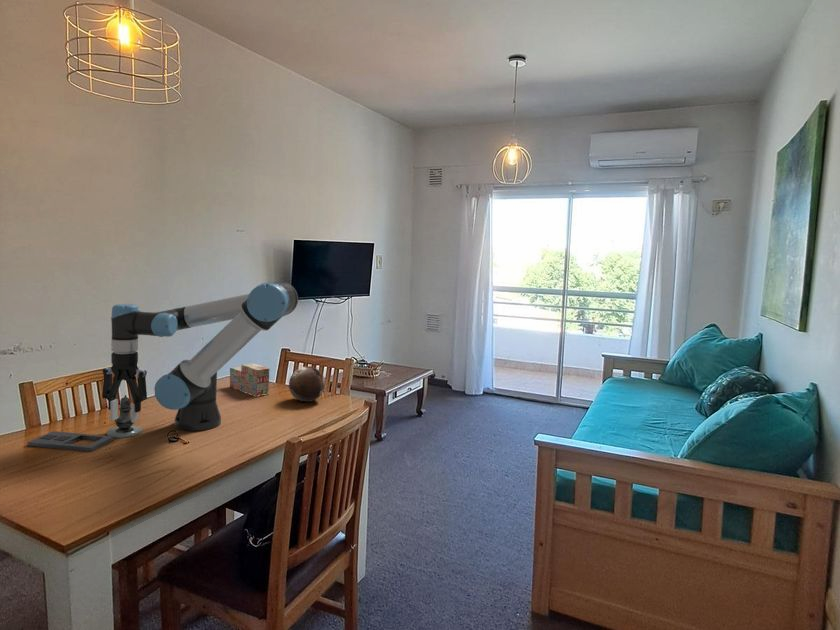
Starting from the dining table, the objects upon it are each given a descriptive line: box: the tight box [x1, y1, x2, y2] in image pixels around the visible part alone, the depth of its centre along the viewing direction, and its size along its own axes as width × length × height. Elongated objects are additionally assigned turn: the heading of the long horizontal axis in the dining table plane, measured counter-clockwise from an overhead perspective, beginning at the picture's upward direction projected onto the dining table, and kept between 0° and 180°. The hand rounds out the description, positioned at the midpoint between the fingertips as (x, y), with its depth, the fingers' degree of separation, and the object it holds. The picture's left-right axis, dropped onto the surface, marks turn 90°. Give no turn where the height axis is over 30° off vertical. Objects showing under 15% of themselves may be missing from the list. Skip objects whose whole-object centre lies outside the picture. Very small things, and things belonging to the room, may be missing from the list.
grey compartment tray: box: [27, 430, 114, 453], centre depth 158 cm, size 20×10×1 cm, turn 86°
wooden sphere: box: [288, 366, 326, 402], centre depth 219 cm, size 15×15×15 cm
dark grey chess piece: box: [114, 394, 134, 433], centre depth 169 cm, size 6×6×12 cm
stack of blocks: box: [229, 362, 270, 396], centre depth 229 cm, size 21×6×12 cm, turn 51°
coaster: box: [106, 424, 143, 439], centre depth 170 cm, size 10×10×1 cm
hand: (124, 420), depth 169 cm, fingers open, 6 cm apart
